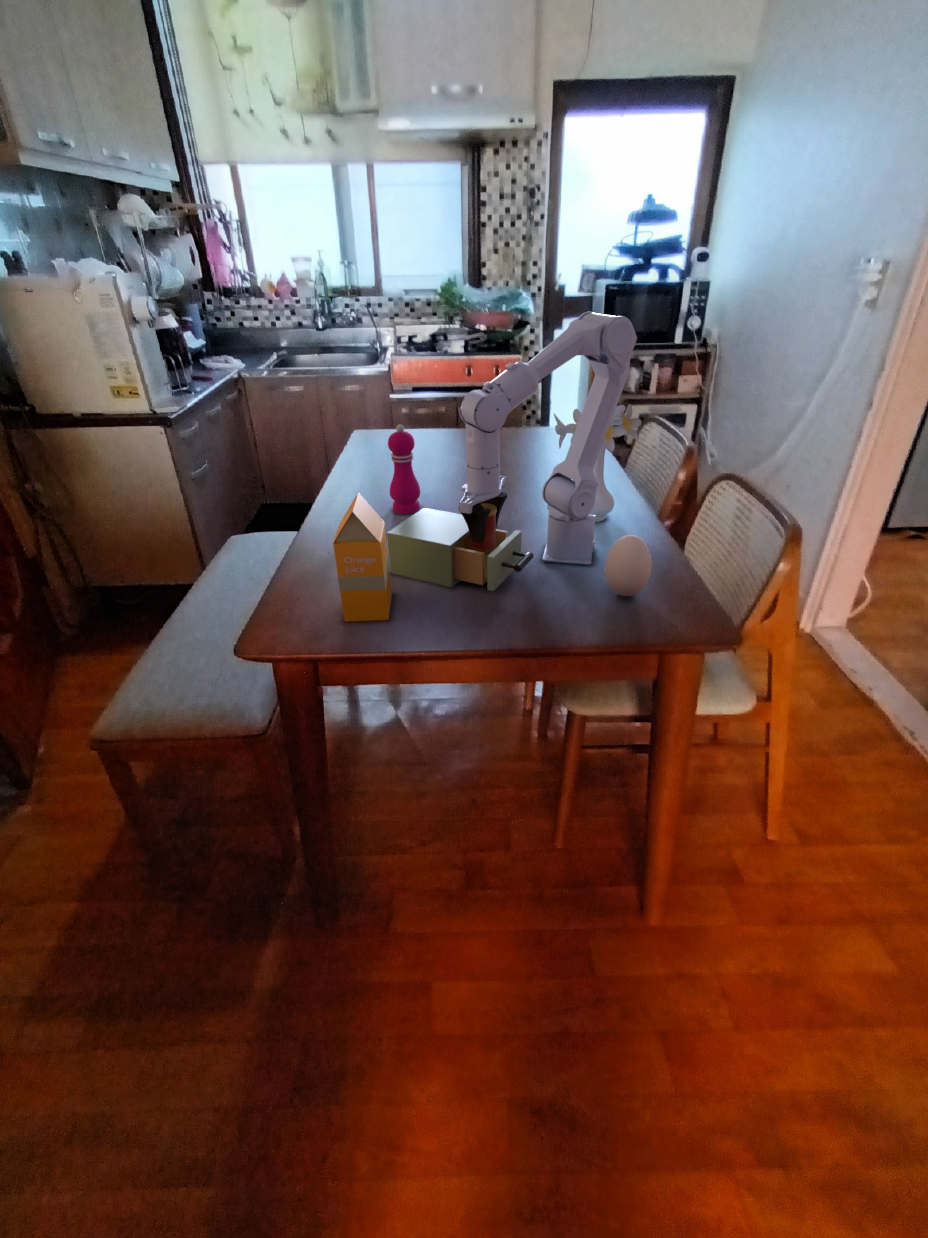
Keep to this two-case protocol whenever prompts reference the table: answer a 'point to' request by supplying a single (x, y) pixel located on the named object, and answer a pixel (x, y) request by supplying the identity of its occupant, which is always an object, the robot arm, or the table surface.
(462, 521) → the cabinet
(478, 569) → the drawer
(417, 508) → the pepper mill
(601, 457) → the flower vase
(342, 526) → the orange juice
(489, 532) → the tea tin
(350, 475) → the table surface
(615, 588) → the egg
